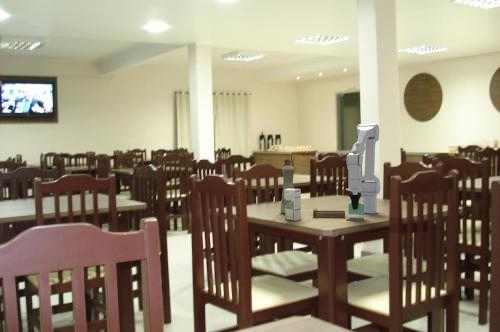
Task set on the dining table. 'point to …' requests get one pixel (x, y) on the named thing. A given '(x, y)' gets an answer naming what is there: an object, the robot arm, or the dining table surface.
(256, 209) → the dining table surface
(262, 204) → the dining table surface
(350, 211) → the block
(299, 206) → the syrup box
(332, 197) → the dining table surface
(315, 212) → the trough
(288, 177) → the bottle
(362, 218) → the mat
